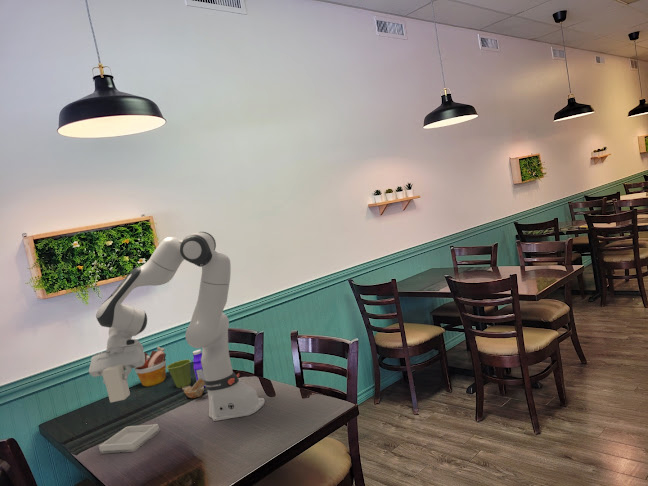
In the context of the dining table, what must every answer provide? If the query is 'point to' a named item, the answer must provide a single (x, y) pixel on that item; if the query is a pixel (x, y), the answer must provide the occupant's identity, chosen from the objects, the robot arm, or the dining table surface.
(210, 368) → the robot arm
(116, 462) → the dining table surface
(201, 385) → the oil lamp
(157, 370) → the bucket of meat
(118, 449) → the tray
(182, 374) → the plant pot
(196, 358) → the bottle
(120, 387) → the white upright block
